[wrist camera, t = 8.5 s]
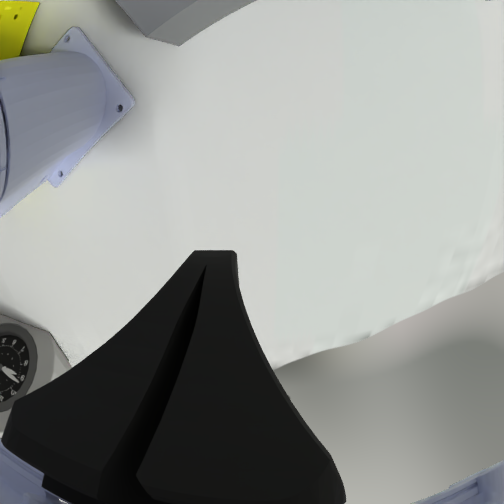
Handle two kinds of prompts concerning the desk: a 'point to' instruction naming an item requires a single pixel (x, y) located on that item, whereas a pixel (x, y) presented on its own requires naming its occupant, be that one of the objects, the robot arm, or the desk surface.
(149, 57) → the desk surface
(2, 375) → the alarm clock
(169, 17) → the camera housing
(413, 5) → the desk surface
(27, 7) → the yellow toy chassis
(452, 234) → the desk surface
